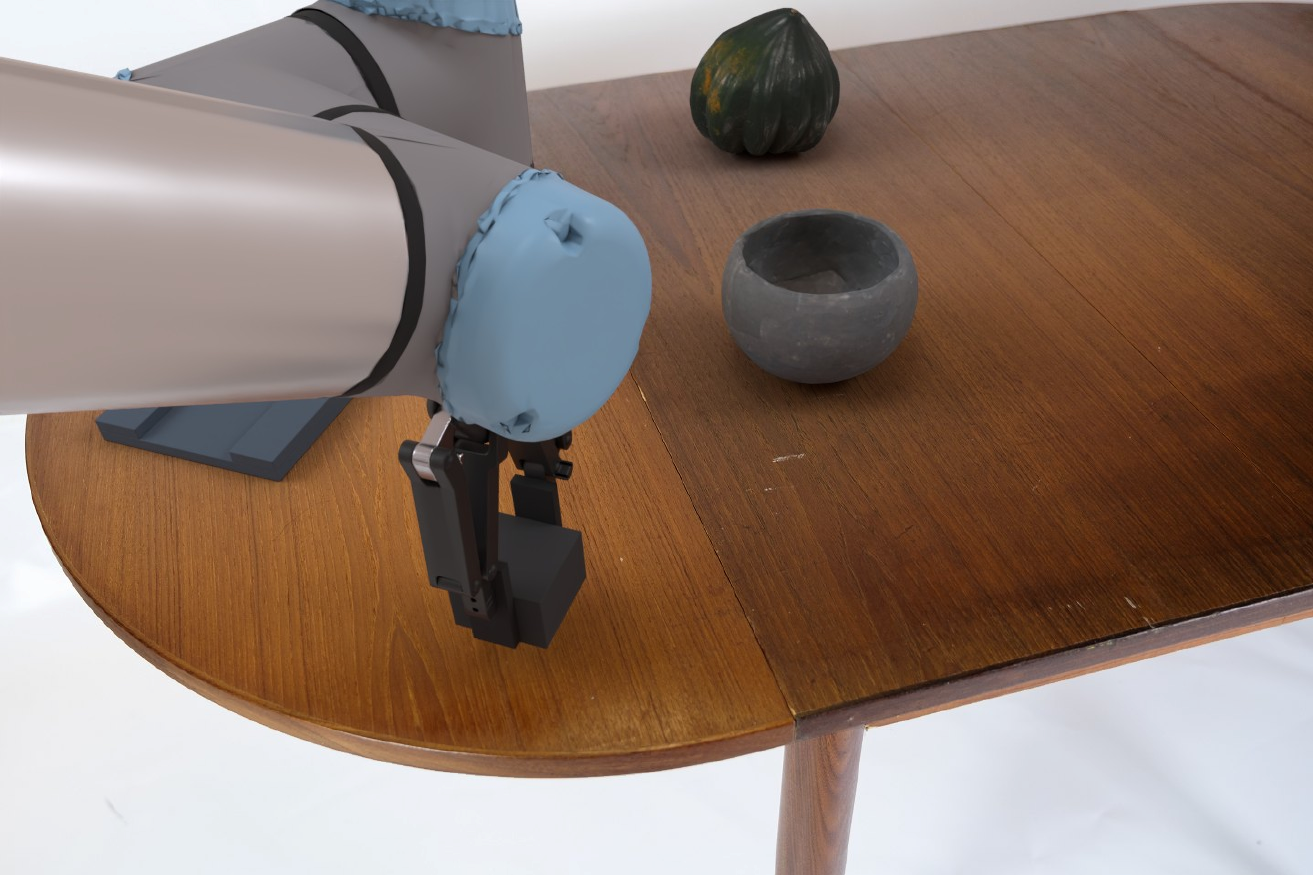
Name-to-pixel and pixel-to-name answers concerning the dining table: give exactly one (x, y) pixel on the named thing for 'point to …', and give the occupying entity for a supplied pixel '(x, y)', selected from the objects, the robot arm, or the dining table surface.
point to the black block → (536, 575)
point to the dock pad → (227, 432)
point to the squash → (766, 86)
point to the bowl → (819, 294)
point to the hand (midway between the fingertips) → (521, 597)
